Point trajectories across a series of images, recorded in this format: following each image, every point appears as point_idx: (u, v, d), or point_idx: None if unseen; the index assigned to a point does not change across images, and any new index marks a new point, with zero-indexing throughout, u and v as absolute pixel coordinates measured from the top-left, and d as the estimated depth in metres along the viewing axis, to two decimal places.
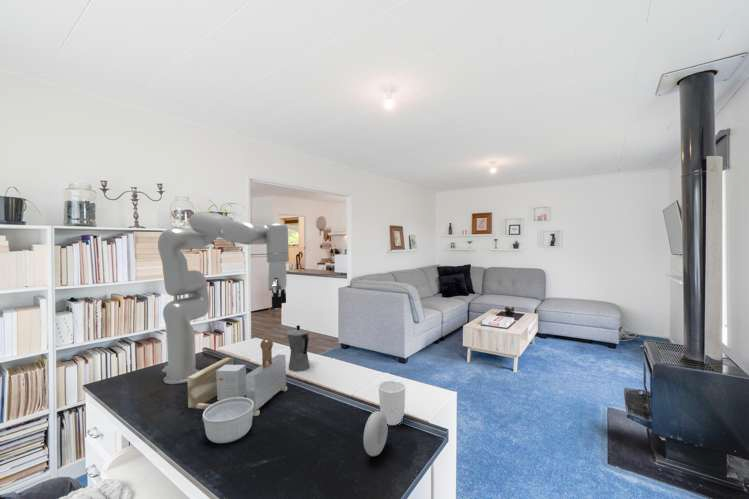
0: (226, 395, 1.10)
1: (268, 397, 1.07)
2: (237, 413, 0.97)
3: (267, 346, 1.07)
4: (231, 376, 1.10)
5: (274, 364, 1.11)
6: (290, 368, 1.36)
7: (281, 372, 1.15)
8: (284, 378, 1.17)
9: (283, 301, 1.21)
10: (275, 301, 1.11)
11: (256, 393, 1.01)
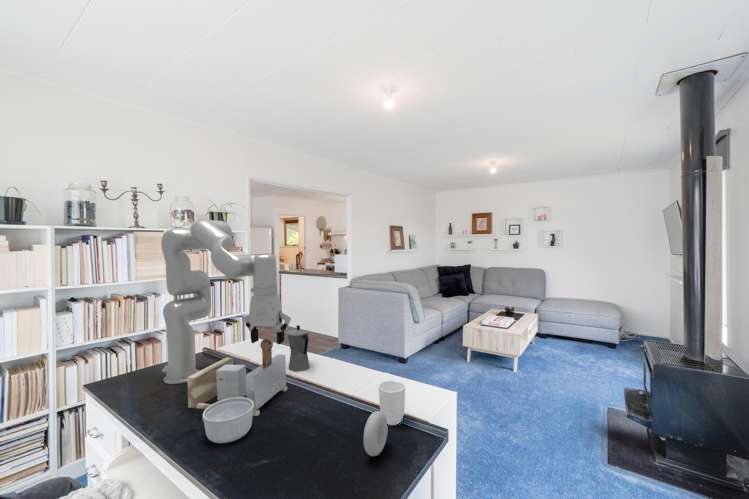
0: (226, 395, 1.10)
1: (268, 397, 1.07)
2: (237, 413, 0.97)
3: (267, 346, 1.07)
4: (231, 376, 1.10)
5: (274, 364, 1.11)
6: (290, 368, 1.36)
7: (281, 372, 1.15)
8: (284, 378, 1.17)
9: (257, 339, 1.11)
10: (282, 335, 1.07)
11: (256, 393, 1.01)
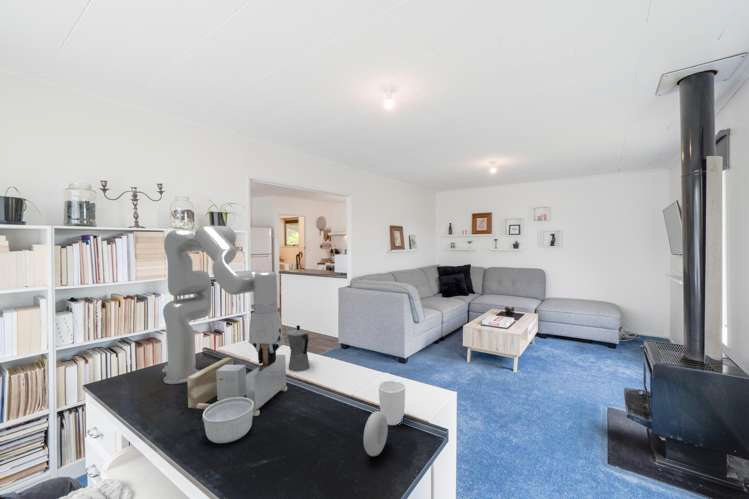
0: (226, 395, 1.10)
1: (268, 397, 1.07)
2: (237, 413, 0.97)
3: (267, 346, 1.07)
4: (231, 376, 1.10)
5: (274, 364, 1.11)
6: (290, 368, 1.36)
7: (281, 372, 1.15)
8: (284, 378, 1.17)
9: None
10: (274, 356, 1.08)
11: (256, 393, 1.01)
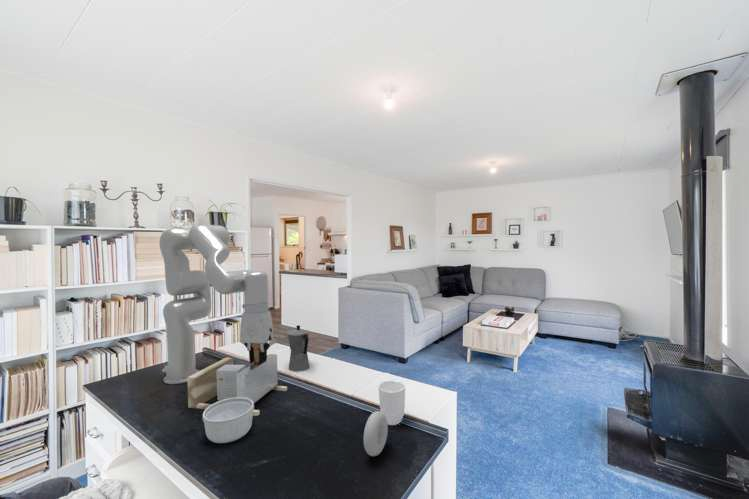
0: (226, 395, 1.10)
1: (259, 396, 1.08)
2: (237, 413, 0.97)
3: (258, 345, 1.08)
4: (231, 376, 1.10)
5: (265, 363, 1.12)
6: (290, 368, 1.36)
7: (273, 371, 1.16)
8: (275, 377, 1.18)
9: None
10: (265, 355, 1.09)
11: (247, 392, 1.02)
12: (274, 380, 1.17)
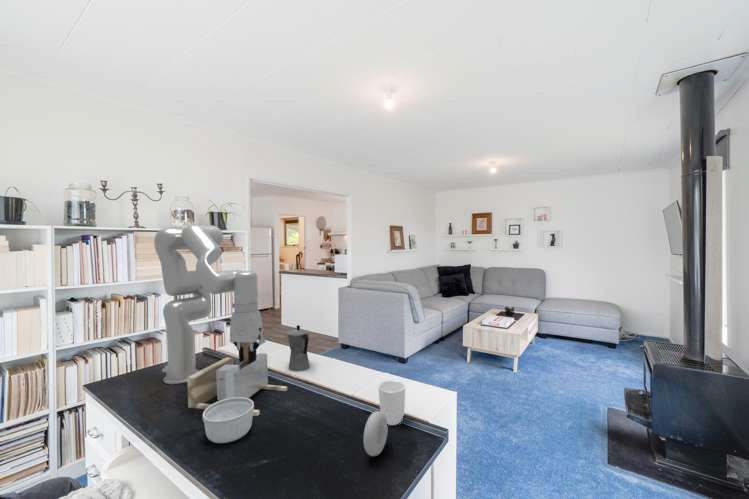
0: None
1: (248, 395, 1.09)
2: (237, 413, 0.97)
3: (247, 345, 1.09)
4: None
5: (255, 362, 1.13)
6: (290, 368, 1.36)
7: (263, 370, 1.17)
8: (265, 376, 1.19)
9: None
10: (254, 354, 1.10)
11: (236, 391, 1.03)
12: (264, 379, 1.18)
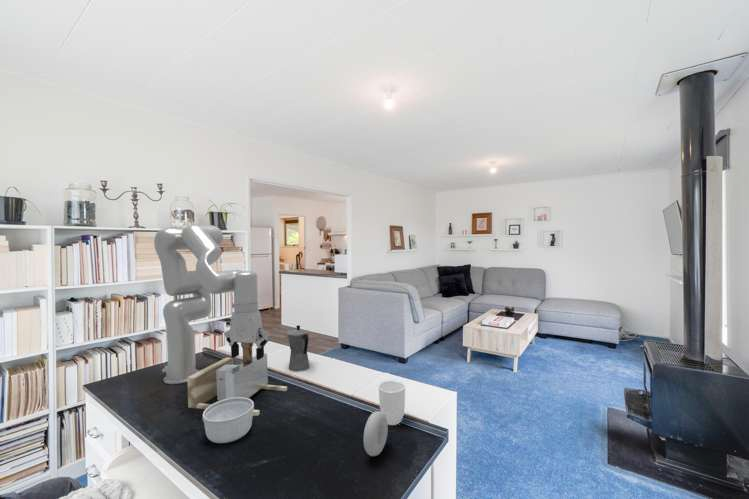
0: None
1: (248, 395, 1.09)
2: (237, 413, 0.97)
3: (247, 345, 1.09)
4: None
5: (255, 362, 1.13)
6: (290, 368, 1.36)
7: (263, 370, 1.17)
8: (265, 376, 1.19)
9: (237, 354, 1.13)
10: (262, 351, 1.09)
11: (236, 391, 1.03)
12: (264, 379, 1.18)
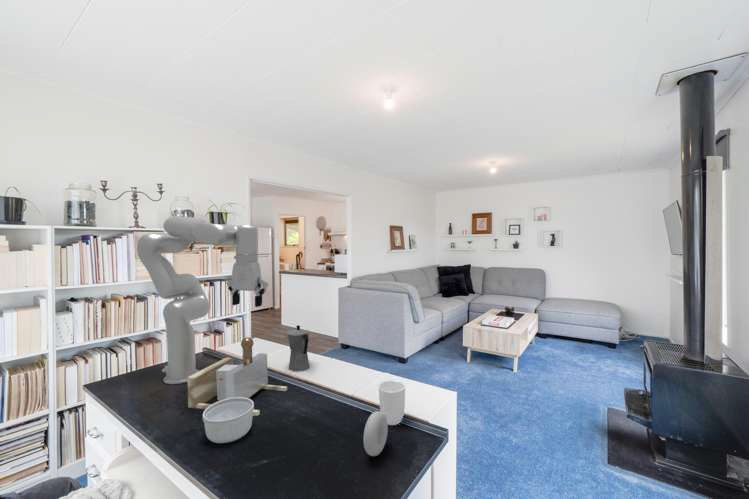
0: None
1: (248, 395, 1.09)
2: (237, 413, 0.97)
3: (247, 345, 1.09)
4: None
5: (255, 362, 1.13)
6: (290, 368, 1.36)
7: (263, 370, 1.17)
8: (265, 376, 1.19)
9: (238, 302, 1.22)
10: (260, 299, 1.18)
11: (236, 391, 1.03)
12: (264, 379, 1.18)
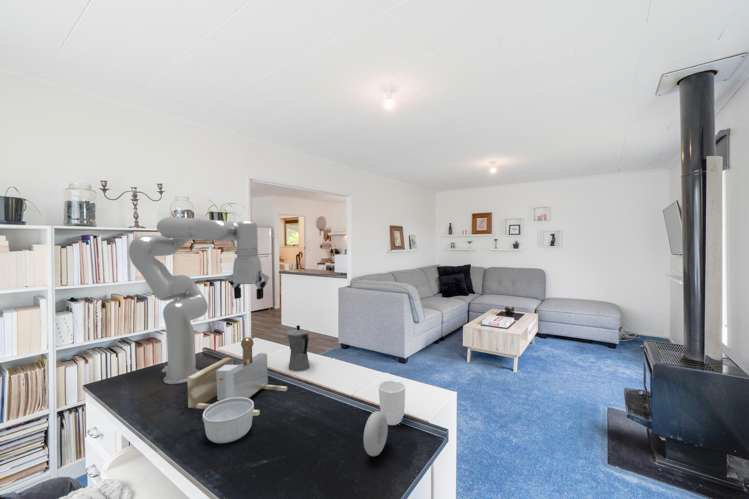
0: None
1: (248, 395, 1.09)
2: (237, 413, 0.97)
3: (247, 345, 1.09)
4: None
5: (255, 362, 1.13)
6: (290, 368, 1.36)
7: (263, 370, 1.17)
8: (265, 376, 1.19)
9: (239, 296, 1.26)
10: (261, 292, 1.22)
11: (236, 391, 1.03)
12: (264, 379, 1.18)
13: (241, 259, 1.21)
